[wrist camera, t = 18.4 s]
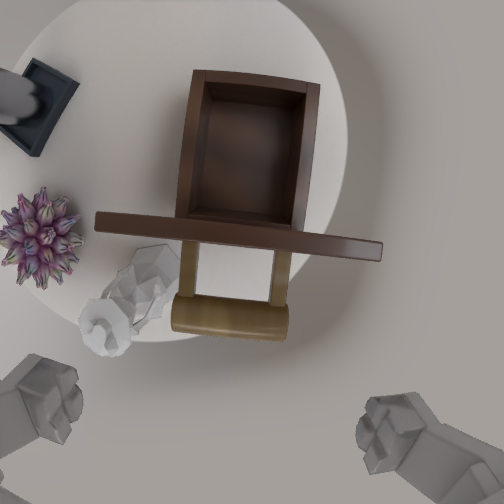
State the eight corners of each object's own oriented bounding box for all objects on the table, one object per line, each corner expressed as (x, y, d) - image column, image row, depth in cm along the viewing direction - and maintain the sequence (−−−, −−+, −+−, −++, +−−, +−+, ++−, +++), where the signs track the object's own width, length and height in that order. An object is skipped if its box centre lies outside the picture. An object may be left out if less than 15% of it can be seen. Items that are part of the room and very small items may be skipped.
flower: (47, 183, 34) (109, 191, 32) (42, 266, 36) (101, 288, 34) (-17, 183, 23) (37, 191, 21) (-17, 284, 25) (37, 317, 23)
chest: (204, 93, 31) (193, 69, 23) (303, 104, 31) (320, 84, 23) (190, 215, 34) (174, 226, 26) (288, 225, 35) (302, 239, 27)
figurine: (191, 251, 35) (146, 319, 18) (175, 311, 37) (131, 405, 19) (137, 234, 34) (54, 283, 17) (125, 293, 36) (54, 372, 19)
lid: (95, 210, 11) (90, 333, 11) (384, 242, 11) (363, 361, 11) (173, 222, 26) (168, 279, 26) (303, 236, 26) (296, 292, 27)
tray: (40, 61, 28) (32, 57, 26) (80, 83, 29) (72, 80, 28) (3, 127, 30) (-5, 126, 28) (39, 157, 31) (30, 156, 29)
